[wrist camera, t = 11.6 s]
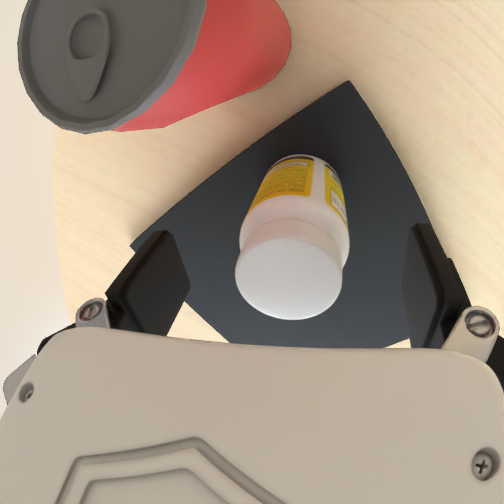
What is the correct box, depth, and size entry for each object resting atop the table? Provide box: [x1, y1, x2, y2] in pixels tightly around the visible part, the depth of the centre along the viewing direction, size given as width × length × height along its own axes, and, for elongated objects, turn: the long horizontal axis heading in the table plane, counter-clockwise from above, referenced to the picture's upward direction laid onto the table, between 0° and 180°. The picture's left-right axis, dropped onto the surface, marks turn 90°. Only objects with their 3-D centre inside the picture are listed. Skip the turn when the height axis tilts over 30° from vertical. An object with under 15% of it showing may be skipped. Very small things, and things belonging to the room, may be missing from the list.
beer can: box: [17, 0, 291, 134], centre depth 9 cm, size 7×7×12 cm
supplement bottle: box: [235, 154, 349, 320], centre depth 14 cm, size 5×5×8 cm
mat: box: [130, 81, 431, 349], centre depth 22 cm, size 20×20×1 cm
